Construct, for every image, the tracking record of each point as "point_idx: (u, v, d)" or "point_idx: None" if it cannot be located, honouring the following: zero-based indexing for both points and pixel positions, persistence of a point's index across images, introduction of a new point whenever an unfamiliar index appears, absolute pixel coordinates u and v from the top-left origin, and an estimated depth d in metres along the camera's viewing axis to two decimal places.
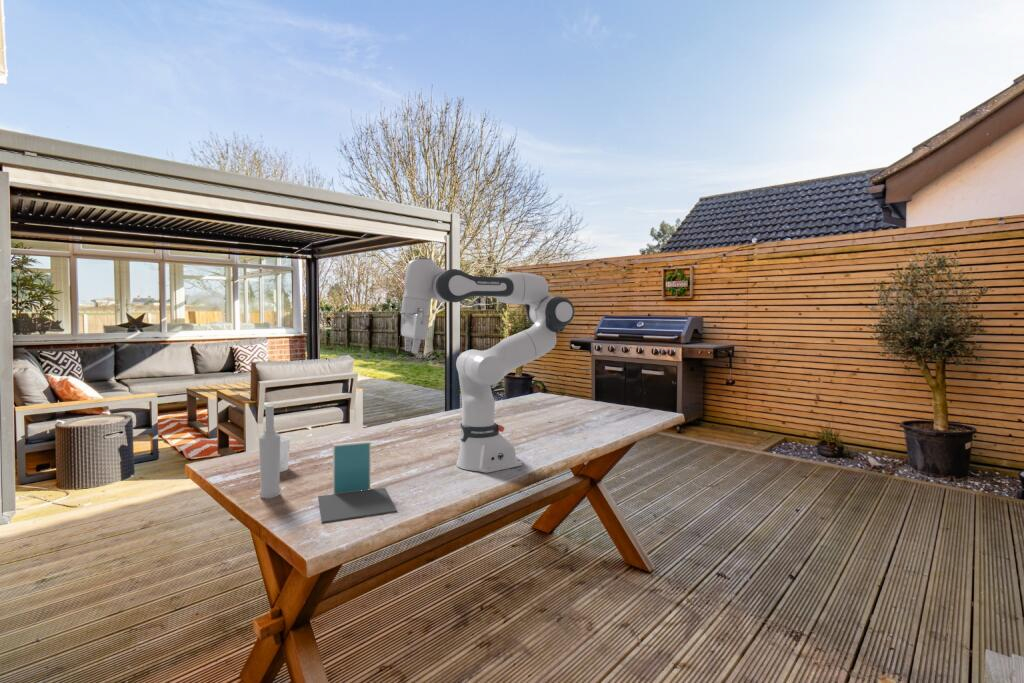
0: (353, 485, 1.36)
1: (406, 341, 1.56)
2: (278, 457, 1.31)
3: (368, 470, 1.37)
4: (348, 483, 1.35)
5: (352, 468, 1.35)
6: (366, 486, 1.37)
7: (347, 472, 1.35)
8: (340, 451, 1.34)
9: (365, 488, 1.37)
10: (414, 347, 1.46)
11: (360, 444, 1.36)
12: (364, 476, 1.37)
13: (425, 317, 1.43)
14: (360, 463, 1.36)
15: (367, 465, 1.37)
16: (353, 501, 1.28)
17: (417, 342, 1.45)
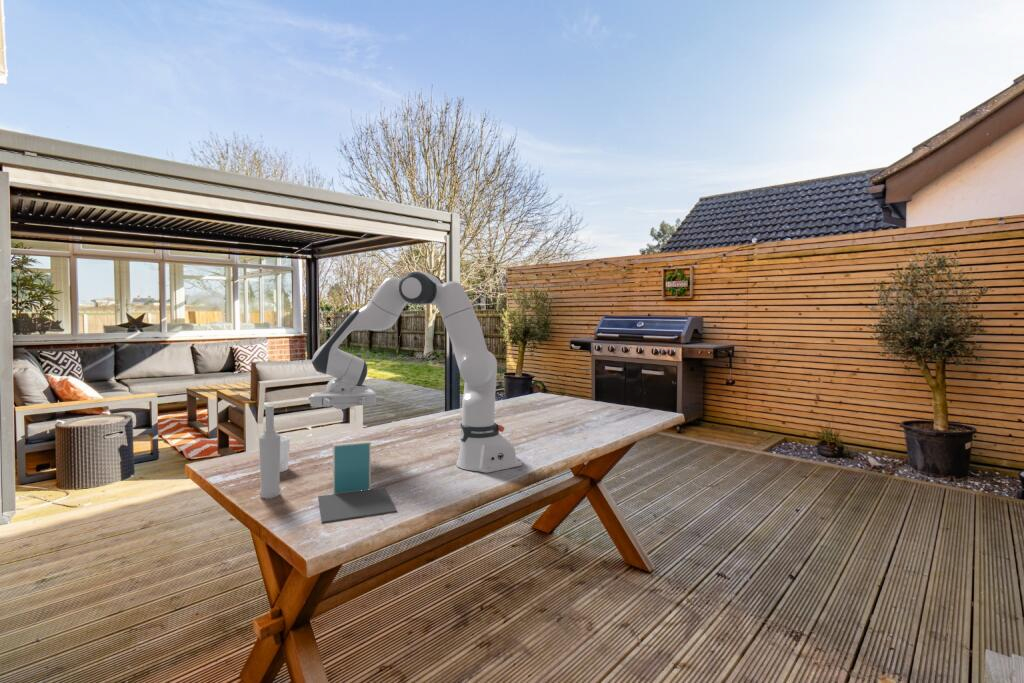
0: (353, 485, 1.36)
1: None
2: (278, 457, 1.31)
3: (368, 470, 1.37)
4: (348, 483, 1.35)
5: (352, 468, 1.35)
6: (366, 486, 1.37)
7: (347, 472, 1.35)
8: (340, 451, 1.34)
9: (365, 488, 1.37)
10: (326, 404, 1.48)
11: (360, 444, 1.36)
12: (364, 476, 1.37)
13: None
14: (360, 463, 1.36)
15: (367, 465, 1.37)
16: (353, 501, 1.28)
17: (323, 401, 1.49)
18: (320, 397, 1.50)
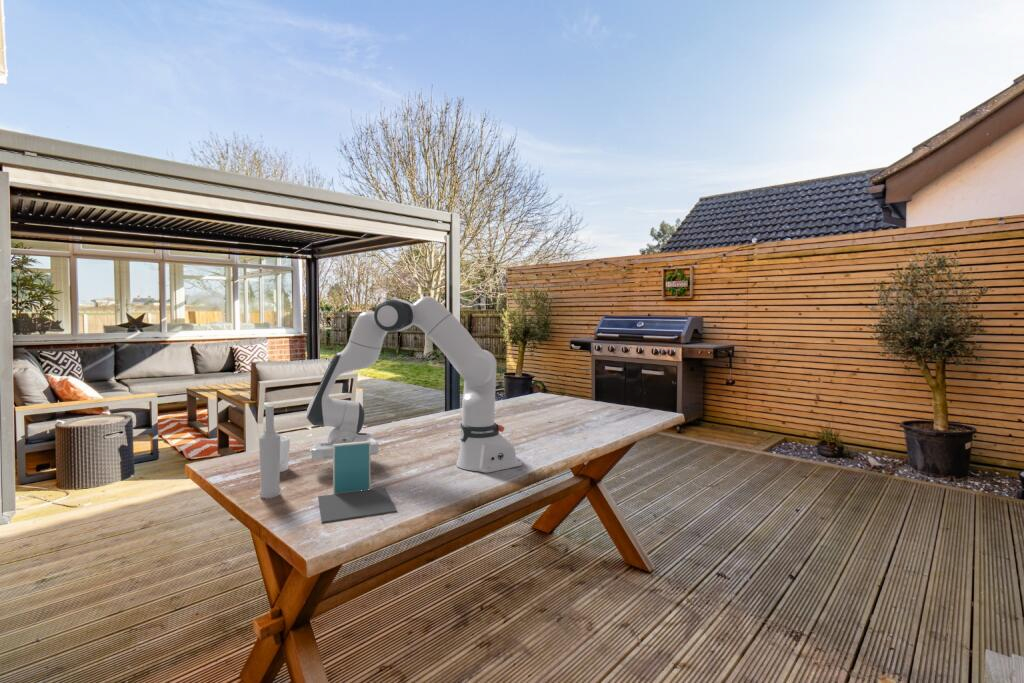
0: (353, 485, 1.36)
1: None
2: (278, 457, 1.31)
3: (368, 470, 1.37)
4: (348, 483, 1.35)
5: (352, 468, 1.35)
6: (366, 486, 1.37)
7: (347, 472, 1.35)
8: (340, 451, 1.34)
9: (365, 488, 1.37)
10: None
11: (360, 444, 1.36)
12: (364, 476, 1.37)
13: None
14: (360, 463, 1.36)
15: (367, 465, 1.37)
16: (353, 501, 1.28)
17: None
18: (321, 450, 1.47)
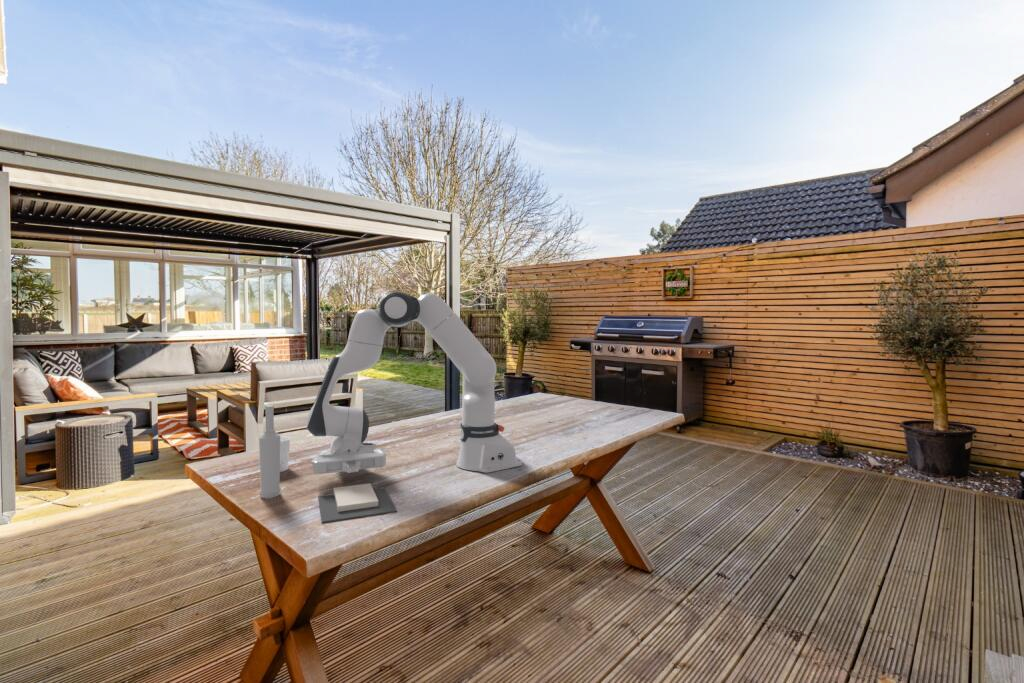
0: None
1: None
2: (278, 457, 1.31)
3: None
4: None
5: None
6: None
7: None
8: None
9: None
10: (346, 469, 1.35)
11: None
12: None
13: None
14: None
15: None
16: None
17: (342, 466, 1.36)
18: (324, 463, 1.35)
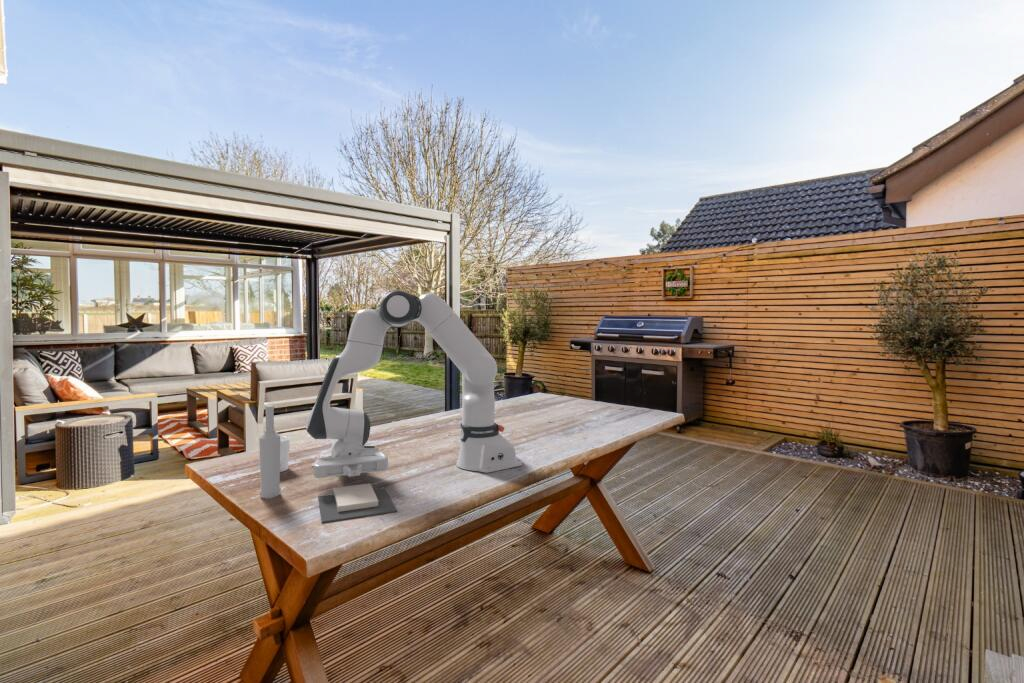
0: None
1: None
2: (278, 457, 1.31)
3: None
4: None
5: None
6: None
7: None
8: None
9: None
10: (347, 473, 1.32)
11: None
12: None
13: None
14: None
15: None
16: None
17: (343, 470, 1.33)
18: (325, 467, 1.32)
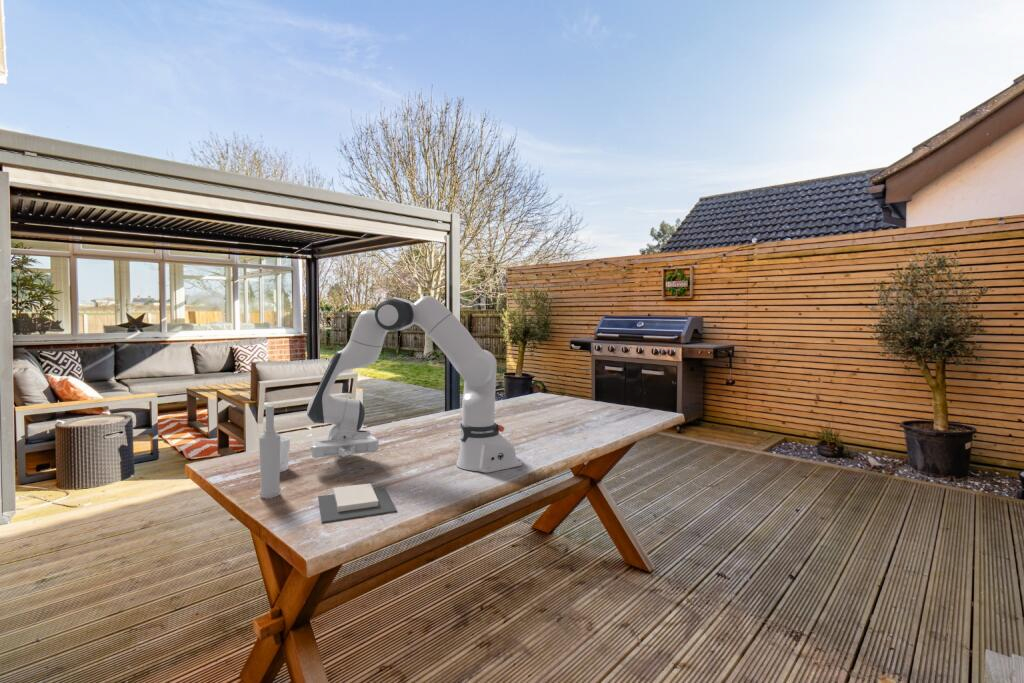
0: None
1: None
2: (278, 457, 1.31)
3: None
4: None
5: None
6: None
7: None
8: None
9: None
10: (341, 453, 1.48)
11: None
12: None
13: None
14: None
15: None
16: None
17: (338, 451, 1.49)
18: (321, 448, 1.48)
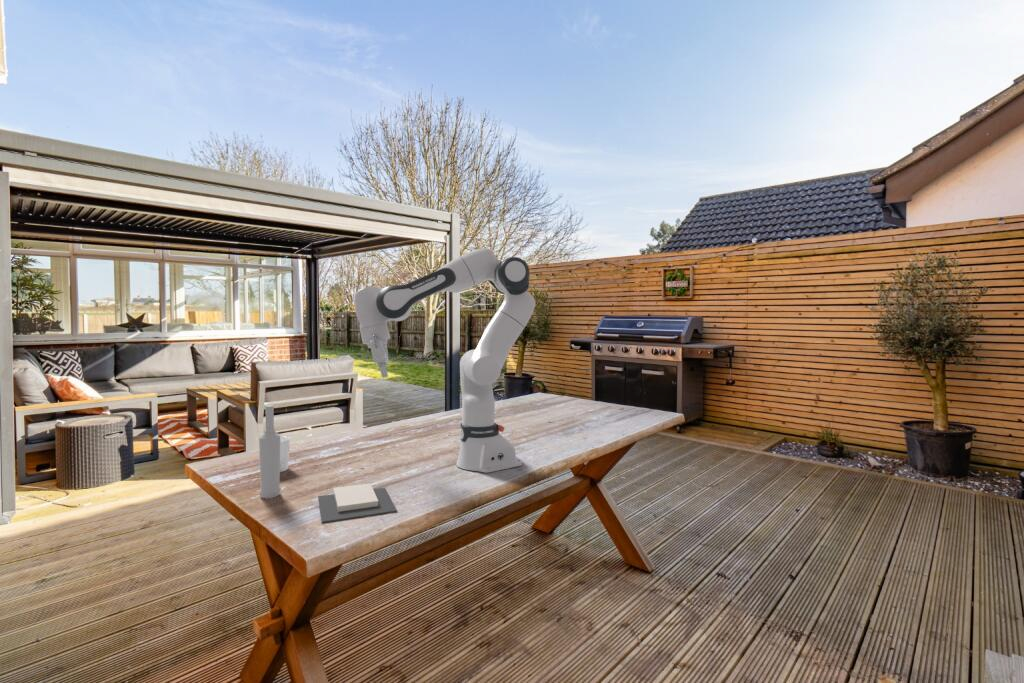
0: None
1: None
2: (278, 457, 1.31)
3: None
4: None
5: None
6: None
7: None
8: None
9: None
10: (382, 372, 1.54)
11: None
12: None
13: (378, 340, 1.47)
14: None
15: None
16: None
17: (382, 366, 1.53)
18: (384, 361, 1.49)
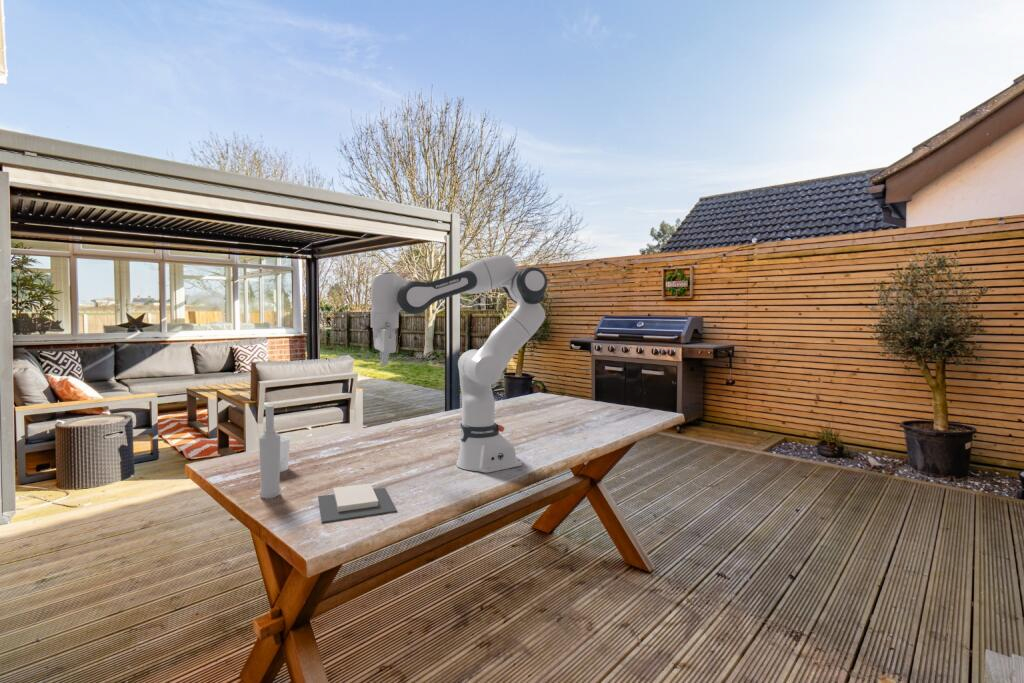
0: None
1: (381, 355, 1.57)
2: (278, 457, 1.31)
3: None
4: None
5: None
6: None
7: None
8: None
9: None
10: (383, 359, 1.54)
11: None
12: None
13: (393, 331, 1.48)
14: None
15: None
16: None
17: (386, 354, 1.53)
18: None
